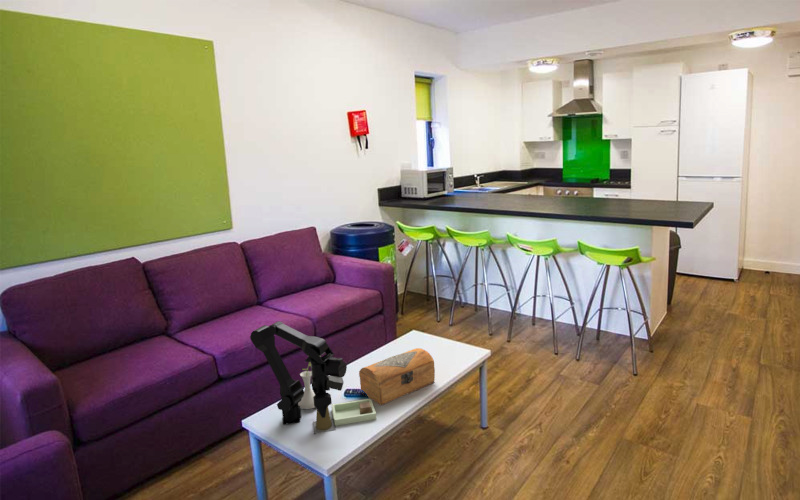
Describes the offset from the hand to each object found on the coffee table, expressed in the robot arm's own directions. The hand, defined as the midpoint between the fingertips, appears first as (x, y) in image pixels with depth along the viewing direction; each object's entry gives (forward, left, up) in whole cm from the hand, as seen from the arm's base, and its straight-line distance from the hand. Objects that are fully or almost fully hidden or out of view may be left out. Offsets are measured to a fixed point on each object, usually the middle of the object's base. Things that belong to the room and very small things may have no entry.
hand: (322, 411), depth 190 cm
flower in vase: (-4, +19, -7) cm, 21 cm away
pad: (0, 0, -6) cm, 6 cm away
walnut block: (+17, +3, -6) cm, 18 cm away
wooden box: (+34, +21, -7) cm, 41 cm away
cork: (0, 0, -6) cm, 6 cm away
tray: (+12, +5, -6) cm, 15 cm away
